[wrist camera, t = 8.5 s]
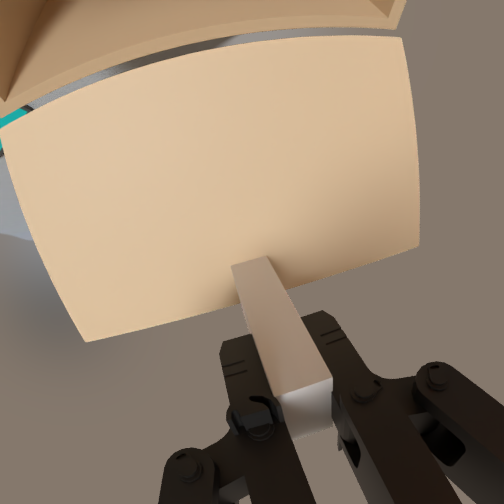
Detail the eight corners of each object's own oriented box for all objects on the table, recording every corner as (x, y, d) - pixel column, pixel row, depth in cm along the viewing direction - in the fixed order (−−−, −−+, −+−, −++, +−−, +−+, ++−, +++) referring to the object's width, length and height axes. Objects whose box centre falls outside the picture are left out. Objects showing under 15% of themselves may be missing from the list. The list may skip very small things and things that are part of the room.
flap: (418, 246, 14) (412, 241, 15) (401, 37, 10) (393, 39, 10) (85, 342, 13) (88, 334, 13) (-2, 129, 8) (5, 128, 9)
